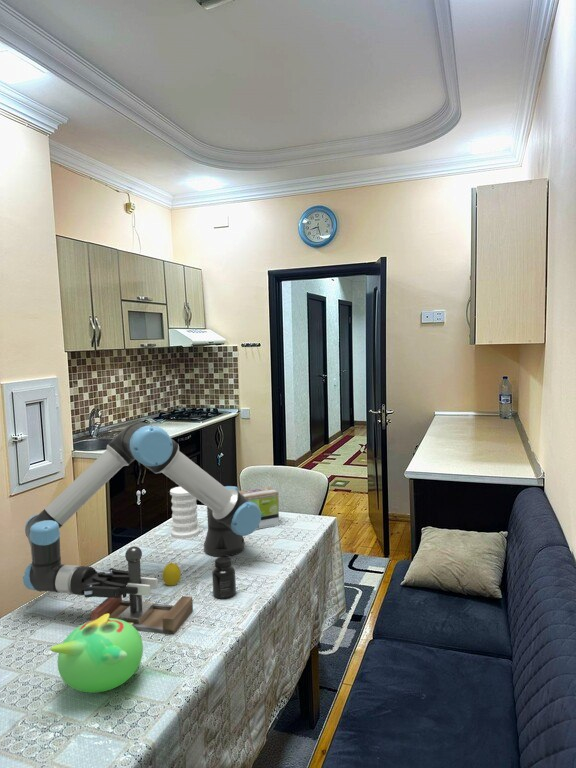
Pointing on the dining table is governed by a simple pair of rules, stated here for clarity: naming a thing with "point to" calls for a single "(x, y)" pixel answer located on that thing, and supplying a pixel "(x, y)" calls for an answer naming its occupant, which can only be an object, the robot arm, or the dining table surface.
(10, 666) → the dining table surface
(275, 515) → the tea box
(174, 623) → the press base
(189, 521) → the decorative container
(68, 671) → the toy bird
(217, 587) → the supplement bottle
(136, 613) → the press handle
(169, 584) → the lemon
